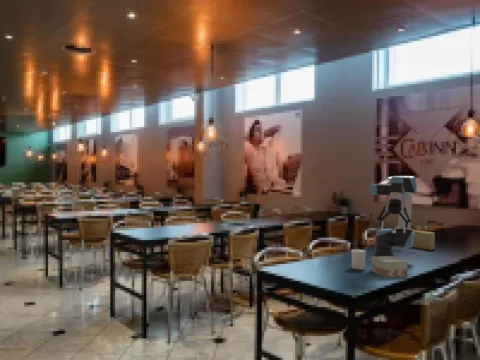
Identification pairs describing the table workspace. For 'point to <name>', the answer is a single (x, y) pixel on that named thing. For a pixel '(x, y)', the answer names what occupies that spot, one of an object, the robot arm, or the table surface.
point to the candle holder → (358, 258)
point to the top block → (389, 262)
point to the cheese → (424, 239)
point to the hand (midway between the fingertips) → (392, 232)
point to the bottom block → (389, 272)
